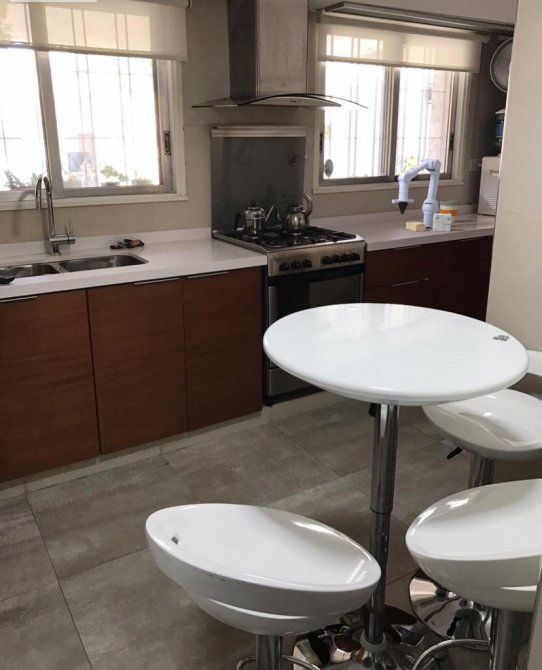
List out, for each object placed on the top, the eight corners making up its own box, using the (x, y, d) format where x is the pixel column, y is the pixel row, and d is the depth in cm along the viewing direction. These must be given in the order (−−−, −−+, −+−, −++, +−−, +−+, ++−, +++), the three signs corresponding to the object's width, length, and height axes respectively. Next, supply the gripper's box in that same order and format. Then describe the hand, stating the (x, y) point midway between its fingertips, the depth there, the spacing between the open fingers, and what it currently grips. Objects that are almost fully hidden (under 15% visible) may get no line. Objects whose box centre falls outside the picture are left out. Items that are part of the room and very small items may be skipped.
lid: (406, 222, 392) (406, 222, 391) (415, 221, 393) (415, 220, 393) (416, 225, 380) (416, 224, 380) (425, 224, 382) (425, 223, 381)
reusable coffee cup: (447, 224, 416) (449, 202, 411) (434, 222, 426) (436, 200, 422) (460, 222, 422) (462, 201, 417) (447, 220, 432) (449, 199, 428)
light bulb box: (448, 230, 389) (450, 213, 385) (450, 231, 382) (452, 214, 379) (432, 229, 390) (433, 213, 386) (433, 231, 383) (435, 214, 380)
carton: (405, 229, 393) (406, 222, 392) (415, 228, 395) (415, 222, 394) (415, 231, 381) (416, 225, 380) (425, 231, 383) (426, 225, 382)
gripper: (396, 193, 375) (395, 215, 379) (416, 192, 379) (415, 214, 383) (391, 192, 381) (389, 213, 386) (411, 191, 385) (409, 213, 389)
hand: (402, 214), depth 385 cm, fingers closed
